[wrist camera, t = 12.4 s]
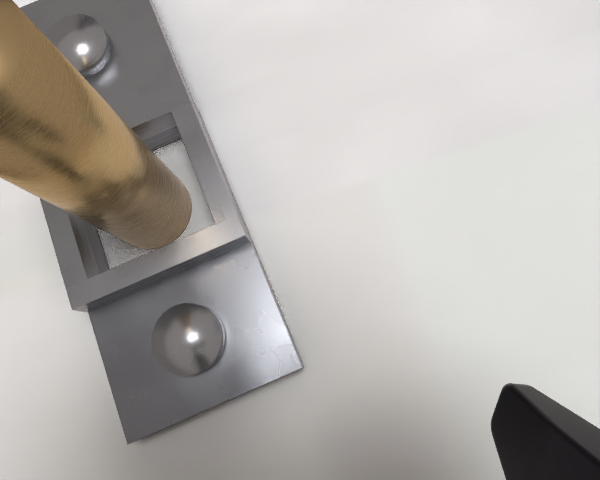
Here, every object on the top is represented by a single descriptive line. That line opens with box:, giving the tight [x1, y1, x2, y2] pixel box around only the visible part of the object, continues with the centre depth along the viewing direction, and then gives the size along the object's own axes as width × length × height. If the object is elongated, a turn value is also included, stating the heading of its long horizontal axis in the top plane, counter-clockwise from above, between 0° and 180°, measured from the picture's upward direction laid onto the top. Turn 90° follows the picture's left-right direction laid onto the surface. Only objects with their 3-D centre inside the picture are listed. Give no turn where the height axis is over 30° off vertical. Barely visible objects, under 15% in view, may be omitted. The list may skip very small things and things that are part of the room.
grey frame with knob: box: [20, 0, 304, 444], centre depth 22 cm, size 22×8×3 cm, turn 23°
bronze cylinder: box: [0, 0, 191, 249], centre depth 17 cm, size 4×4×12 cm
